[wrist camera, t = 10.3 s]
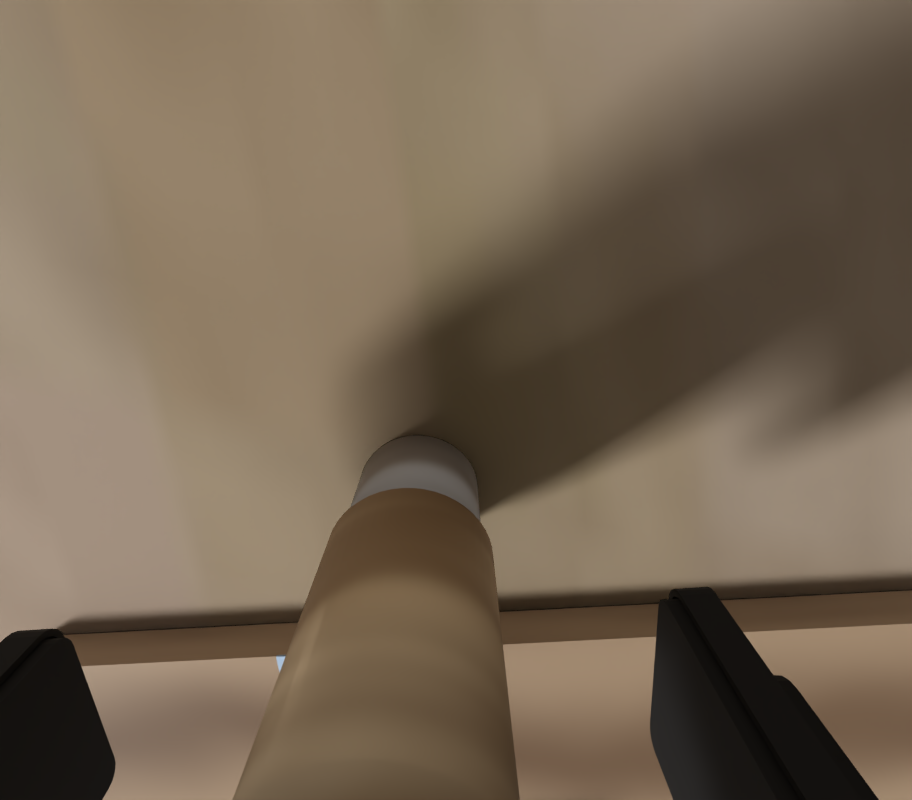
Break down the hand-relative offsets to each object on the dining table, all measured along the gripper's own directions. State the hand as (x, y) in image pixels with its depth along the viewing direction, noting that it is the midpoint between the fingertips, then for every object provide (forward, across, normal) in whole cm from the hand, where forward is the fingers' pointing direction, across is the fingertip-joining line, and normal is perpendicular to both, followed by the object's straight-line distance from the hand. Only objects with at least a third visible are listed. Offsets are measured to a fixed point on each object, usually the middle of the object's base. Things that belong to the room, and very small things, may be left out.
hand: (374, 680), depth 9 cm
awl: (+6, 0, 0) cm, 6 cm away
